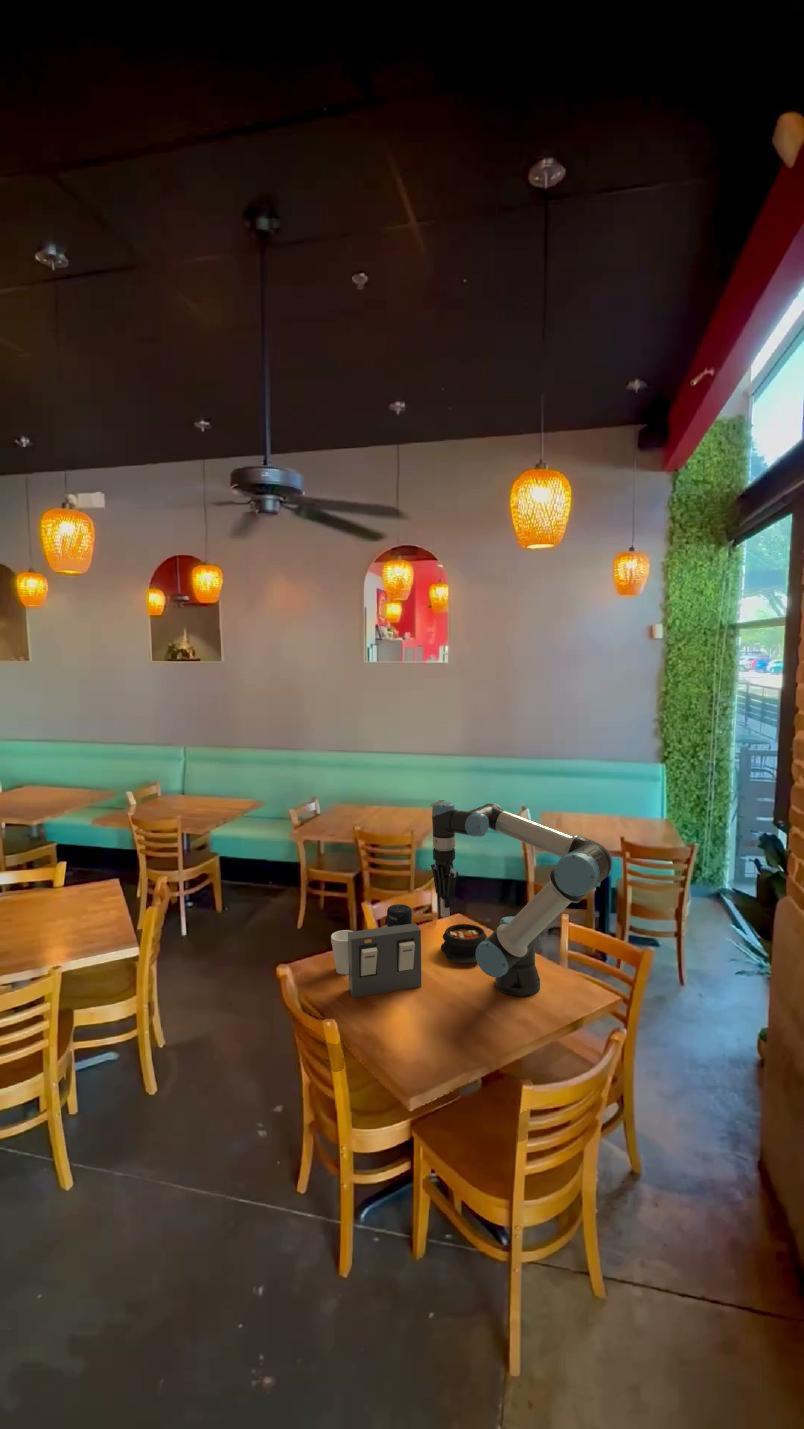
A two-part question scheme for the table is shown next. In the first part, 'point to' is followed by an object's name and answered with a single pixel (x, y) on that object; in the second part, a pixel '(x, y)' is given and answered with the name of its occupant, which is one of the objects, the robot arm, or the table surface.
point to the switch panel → (383, 960)
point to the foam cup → (341, 951)
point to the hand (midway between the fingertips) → (445, 915)
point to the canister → (399, 915)
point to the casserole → (462, 942)
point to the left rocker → (368, 961)
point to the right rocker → (406, 956)
